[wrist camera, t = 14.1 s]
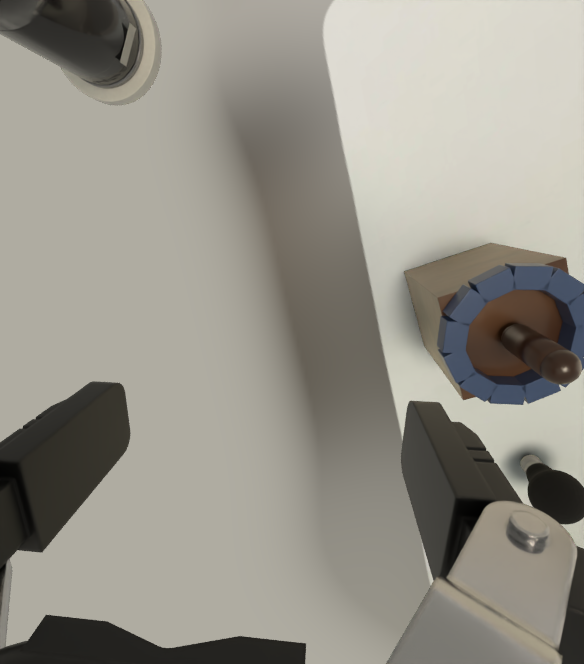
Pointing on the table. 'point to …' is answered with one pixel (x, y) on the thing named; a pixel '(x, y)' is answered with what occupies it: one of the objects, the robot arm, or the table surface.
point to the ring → (569, 294)
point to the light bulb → (553, 491)
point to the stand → (495, 317)
